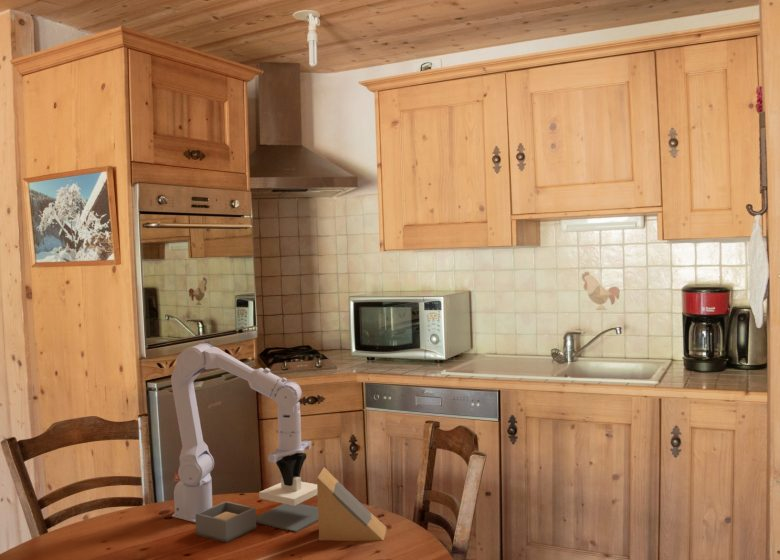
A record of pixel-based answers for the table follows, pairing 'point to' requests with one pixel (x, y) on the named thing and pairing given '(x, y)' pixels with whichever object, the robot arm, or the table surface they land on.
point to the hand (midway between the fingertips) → (291, 483)
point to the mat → (289, 517)
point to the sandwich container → (344, 513)
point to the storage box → (225, 521)
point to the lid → (290, 492)
